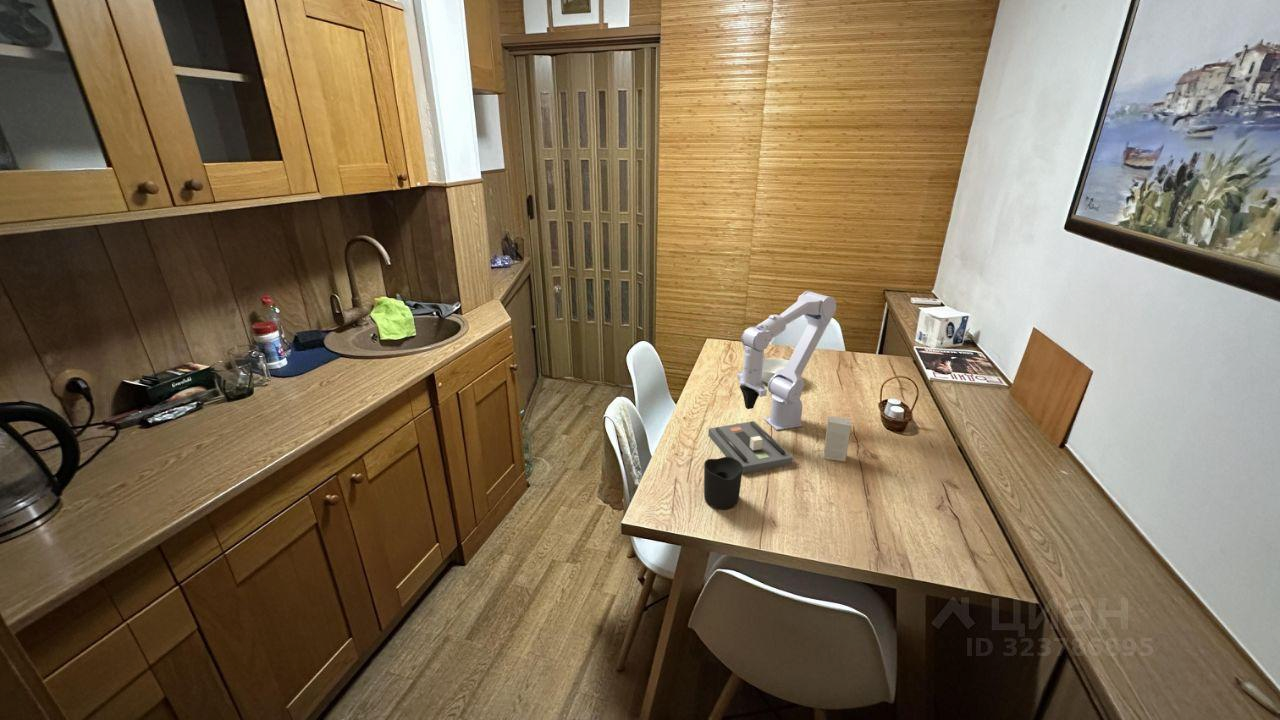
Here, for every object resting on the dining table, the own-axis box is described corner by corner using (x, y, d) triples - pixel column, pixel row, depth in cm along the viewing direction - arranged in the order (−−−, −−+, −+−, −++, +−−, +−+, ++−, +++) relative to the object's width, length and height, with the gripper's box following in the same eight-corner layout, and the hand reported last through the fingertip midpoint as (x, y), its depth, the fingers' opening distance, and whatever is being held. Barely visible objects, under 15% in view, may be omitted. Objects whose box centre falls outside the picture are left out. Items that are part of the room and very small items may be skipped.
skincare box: (844, 454, 145) (851, 418, 140) (845, 462, 141) (851, 425, 136) (823, 451, 146) (828, 415, 142) (822, 458, 143) (828, 422, 138)
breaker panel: (753, 427, 159) (754, 417, 158) (792, 464, 140) (793, 453, 138) (708, 435, 155) (708, 425, 154) (741, 474, 135) (742, 463, 134)
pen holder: (732, 515, 120) (735, 481, 116) (696, 503, 124) (698, 470, 120) (744, 494, 127) (747, 461, 124) (710, 484, 132) (712, 452, 128)
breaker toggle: (758, 445, 144) (759, 435, 143) (761, 448, 142) (762, 439, 141) (749, 446, 143) (750, 437, 142) (753, 450, 141) (753, 440, 140)
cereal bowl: (802, 378, 195) (804, 362, 193) (790, 394, 182) (792, 377, 180) (761, 370, 204) (762, 354, 201) (746, 384, 191) (747, 367, 188)
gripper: (729, 360, 152) (727, 399, 157) (752, 378, 140) (749, 420, 145) (750, 357, 154) (746, 396, 159) (774, 375, 141) (770, 417, 146)
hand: (749, 407), depth 152 cm, fingers closed
